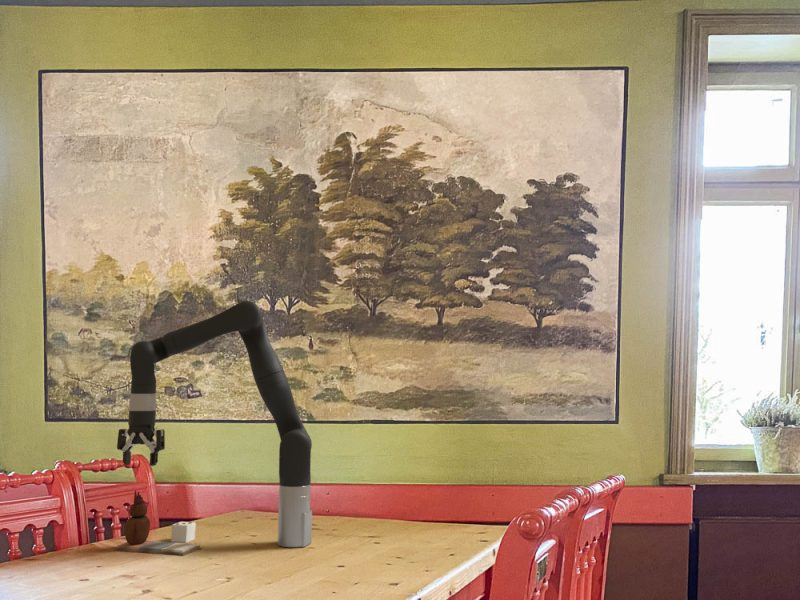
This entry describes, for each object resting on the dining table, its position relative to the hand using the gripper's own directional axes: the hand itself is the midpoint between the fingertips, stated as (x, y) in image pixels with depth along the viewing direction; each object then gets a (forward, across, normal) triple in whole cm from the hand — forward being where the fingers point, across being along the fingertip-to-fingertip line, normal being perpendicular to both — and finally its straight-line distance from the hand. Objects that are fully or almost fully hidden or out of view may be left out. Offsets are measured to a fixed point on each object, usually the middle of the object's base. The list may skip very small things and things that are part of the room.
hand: (139, 465), depth 199 cm
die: (+23, -8, -12) cm, 27 cm away
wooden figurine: (+22, 0, 0) cm, 22 cm away
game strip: (+23, -7, 0) cm, 24 cm away
